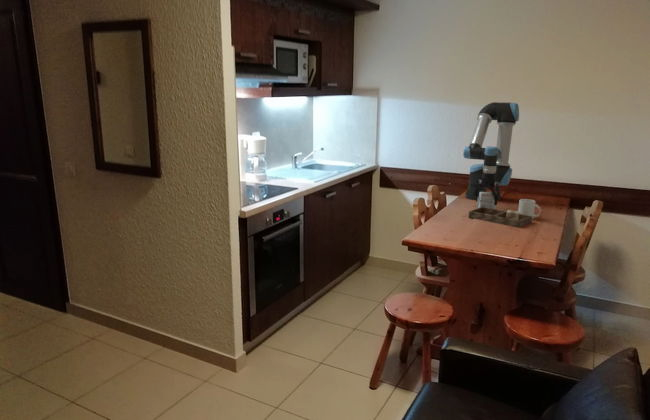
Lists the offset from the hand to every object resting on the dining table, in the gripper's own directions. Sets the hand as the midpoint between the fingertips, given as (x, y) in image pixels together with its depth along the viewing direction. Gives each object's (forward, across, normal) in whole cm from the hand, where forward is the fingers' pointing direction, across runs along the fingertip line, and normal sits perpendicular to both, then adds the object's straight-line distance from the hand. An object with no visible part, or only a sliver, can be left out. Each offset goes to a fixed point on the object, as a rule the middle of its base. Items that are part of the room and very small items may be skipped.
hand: (485, 208), depth 295 cm
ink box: (+2, 0, 0) cm, 2 cm away
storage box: (+2, +16, -15) cm, 22 cm away
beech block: (+1, +23, -15) cm, 28 cm away
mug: (+2, +26, +1) cm, 26 cm away
